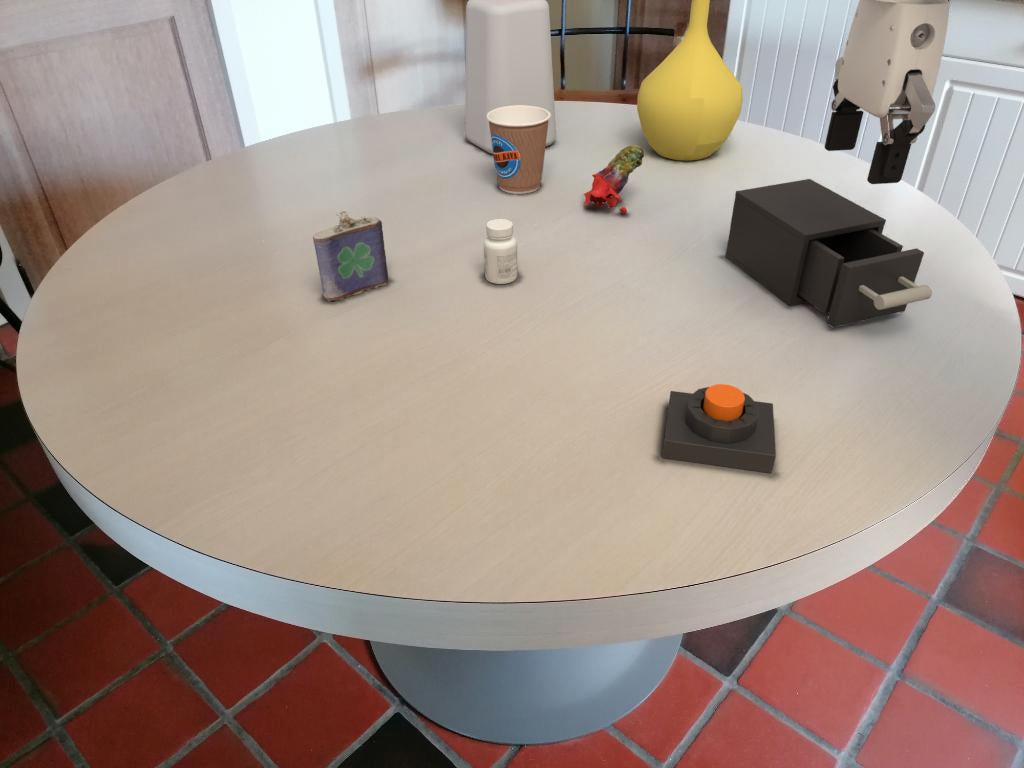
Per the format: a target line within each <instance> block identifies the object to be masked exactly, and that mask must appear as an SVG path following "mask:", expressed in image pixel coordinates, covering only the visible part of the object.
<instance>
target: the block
mask: <svg viewBox="0 0 1024 768" xmlns="http://www.w3.org/2000/svg"><path fill="white" fill-rule="evenodd" d="M709 387H710V386H706V387H701V388H698V389H696V390H695V391H694V392H693V393H691V392H684V391H675V390H671V391H670V393H669V400H668V409H667V416H666V425H665V432H664V441H663V449H662V458H663V459H666V460H667V459H668V460H675V461H681V462H689V463H697V464H704V465H709V466H716V467H717V466H720V467H726V468H731V469H739V470H746V471H754V472H758V473H759V472H760V473H767V474H772V473H773V469H774V465H775V461H776V457H777V451H776V450H777V449H776V434H775V417H774V414H775V413H774V404H773V402H765V401H764V402H763V401H757V400H754V399H753V398H752V397H751V396H750V395H749V394H747V393H745V392H743V394H744V396H745V401H744V406H743V411H742V414H741V416H740V417H739V418H738V419H735V420H731V421H725V420H718V419H715V418H713V417H711V416H709V415H707V414H706V413H705V411H704V409H703V405H704V399H705V393H706V390H707V389H708V388H709Z"/></svg>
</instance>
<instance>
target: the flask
mask: <svg viewBox="0 0 1024 768" xmlns="http://www.w3.org/2000/svg"><path fill="white" fill-rule="evenodd" d="M335 216H336V217H337V216H338V217H339V221H338V222H337V224H338V225H335V226H332V227H331V226H330V227H329V228H326V229H324V230H321V231H318V232H315V233H314V234H313V236H312V240H313V246H314V251H315V256H316V261H317V266H318V271H319V279H320V282H321V288H322V295H323V298H324V299H325V301H327V302H332V301H341V300H344V298H347V297H351V296H352V297H353V296H355V295H359V294H362V293H363V292H364V291H370V290H371V289H374V288H376V289H378V288H379V287H381V286H386V285H387V284H388V283H389V282H390V280H389V273H388V265H387V256H386V255H387V254H386V249H385V240H384V231H383V222H382V220H381V219H379V218H378V217H377V218H376V217H375V216H369V217H367V216H362V217H361V218H356V219H355V218H352V217H351V216H349V212H347V210H342V211H339V213H336V215H335Z"/></svg>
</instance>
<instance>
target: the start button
mask: <svg viewBox="0 0 1024 768" xmlns="http://www.w3.org/2000/svg"><path fill="white" fill-rule="evenodd" d="M708 387H709V388H708V389H707V390H706V393H705V399H704V405H703V409H704V411H705V413H706V414H707V415H709V416H711V417H713V418H715V419H718V420H725V421H731V420H735V419H738V418H739V417H740V416H741V414H742V411H743V406H744V401H745V396H744V394H743V393H744V392H743V391H742V390H741V389H740V388H738V387H736V386H734V385H730V384H726V383H718V384H713V385H711V386H708Z"/></svg>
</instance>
